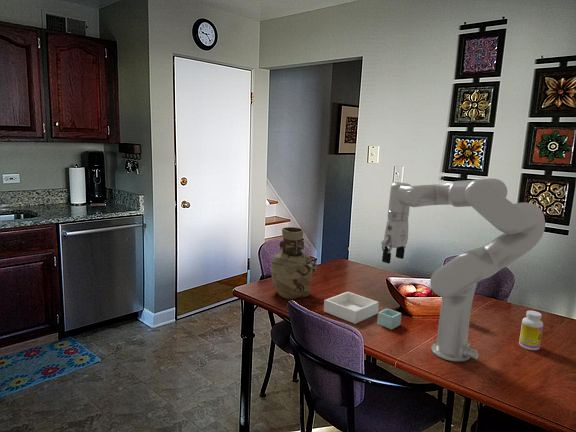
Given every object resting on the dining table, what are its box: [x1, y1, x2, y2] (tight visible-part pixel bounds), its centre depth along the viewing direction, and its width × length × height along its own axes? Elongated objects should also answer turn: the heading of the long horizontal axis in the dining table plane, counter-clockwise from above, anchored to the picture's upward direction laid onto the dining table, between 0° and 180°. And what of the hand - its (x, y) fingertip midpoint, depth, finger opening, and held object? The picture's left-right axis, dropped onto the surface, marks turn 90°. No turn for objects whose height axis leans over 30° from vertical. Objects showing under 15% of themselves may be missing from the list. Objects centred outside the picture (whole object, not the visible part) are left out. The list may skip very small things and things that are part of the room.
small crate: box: [376, 308, 402, 330], centre depth 170 cm, size 6×6×5 cm
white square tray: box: [323, 291, 380, 325], centre depth 181 cm, size 16×16×5 cm
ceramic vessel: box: [270, 226, 318, 300], centre depth 198 cm, size 19×21×30 cm
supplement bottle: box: [518, 310, 544, 351], centre depth 155 cm, size 7×7×13 cm
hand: (392, 260), depth 164 cm, fingers open, 9 cm apart
